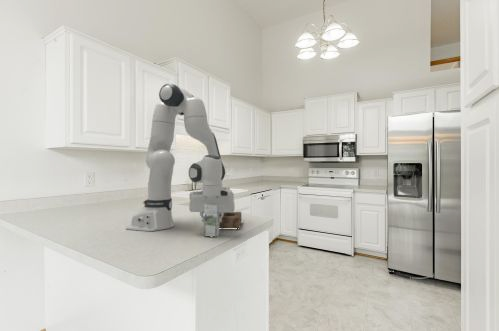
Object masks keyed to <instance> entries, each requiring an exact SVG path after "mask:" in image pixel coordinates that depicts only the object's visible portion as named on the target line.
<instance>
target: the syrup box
mask: <svg viewBox="0 0 499 331" xmlns="http://www.w3.org/2000/svg"><path fill="white" fill-rule="evenodd" d="M217 208H218V206H217V204H205V205H204V214H203V215H204V222H203V224H204V225H203V226H204V227H203V228H204V232H203V233H204V234H203V235H204V236H217V235H218V234H219V235H220V230H219V222H218V218H219V212H217ZM219 235H218V236H219ZM218 236H217V237H218Z"/></svg>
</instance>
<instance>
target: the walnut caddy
mask: <svg viewBox="0 0 499 331" xmlns="http://www.w3.org/2000/svg"><path fill="white" fill-rule="evenodd" d="M220 217H221V215H220V212H219V218H220ZM240 224H241V225H242V211H234V212H232V213H224V215H223V217H222V222H219V228H237V229H238V228H239V226H240V227H241V225H240ZM239 229H240V228H239Z"/></svg>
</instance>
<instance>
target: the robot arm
mask: <svg viewBox="0 0 499 331" xmlns="http://www.w3.org/2000/svg"><path fill="white" fill-rule="evenodd" d="M158 96H159V100H160V102H158V103H156V105H155V108H154V111H153V114H152V121H151V128H150V138H149V143H148V148H147V152H146V153H147V154H146V159H145V164H146V166H147V168H148V169H149V176H148V183H147V199H145V200H143V201H142V204H143V205H144V206H143V207H142V208H141V209H140V210H137V212H135V213H134V214H133V215H132V218H131V222H130V223H129V224H128V225H126V228H125V229H126V230H131V231H132V230H133V231H140V232H141V231H143V232H155V231H161V230H167V229H171V228H173V227H174V226H175V224H174V220H173V214H172V210H173V199H172V180H173V175H174V174H173V173H174V168H175V167H174V166H175V163H176V162H175V157H174V155H173V153H171V148H172V145H173V142H174V138H175V135H174V134H175V126H176V118H177V115H179V116H183V123H184V129H185V132H186V133H187V135H189V136H190V137H191V138H192V139H194V140H197V141H199V142H200V143H201V144H203V145H204V146H205V147H206V150H207V155H204V156H202V159H200V160H199V161H197V162H193V163H192V164H191V165H190V166H189V168H188V177H189V179H190V181H192V183H195V184H201V189H202V190H192V191H191V192H190V193H189V195H188V196H189V206H188V208H189V211H190V213H199V216H200V217H201V221H202V223H204V205H205V204H217V206H218V208H217V212H220V215H221V217H220V218H218V222H222V217H223V215H224V213H232V212H233V211H234V212H235V198H233V196H231V195H232V192H233V190H232V189H230V190H229V189H226V188H223V187H224V186H223V182H222V181H223V180H224V178H225V176H226V169H225V166H224V163H223V161H222V157H221V154H220V149H219V144H218V141H217V138H216V135H215V134H214V132H213V131H212V129H211V127H210V126H209V122H208V115H207V110H206V109H207V108H206V107H205V103H204V101H203V100H202V99H201V98H199V97H196V96H194V95H193V94H191V93H190V92H188V91H187V90H186V89H183V88H181V87H180V86H178V85H176V84H174V83H165V84H164V85H162V86H161V88H160V89H159V93H158Z"/></svg>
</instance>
